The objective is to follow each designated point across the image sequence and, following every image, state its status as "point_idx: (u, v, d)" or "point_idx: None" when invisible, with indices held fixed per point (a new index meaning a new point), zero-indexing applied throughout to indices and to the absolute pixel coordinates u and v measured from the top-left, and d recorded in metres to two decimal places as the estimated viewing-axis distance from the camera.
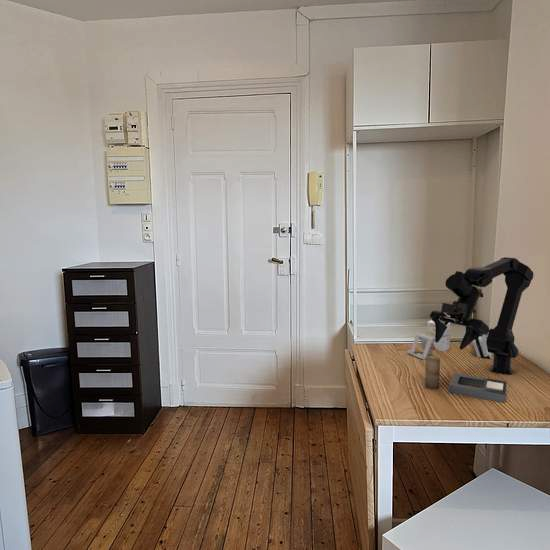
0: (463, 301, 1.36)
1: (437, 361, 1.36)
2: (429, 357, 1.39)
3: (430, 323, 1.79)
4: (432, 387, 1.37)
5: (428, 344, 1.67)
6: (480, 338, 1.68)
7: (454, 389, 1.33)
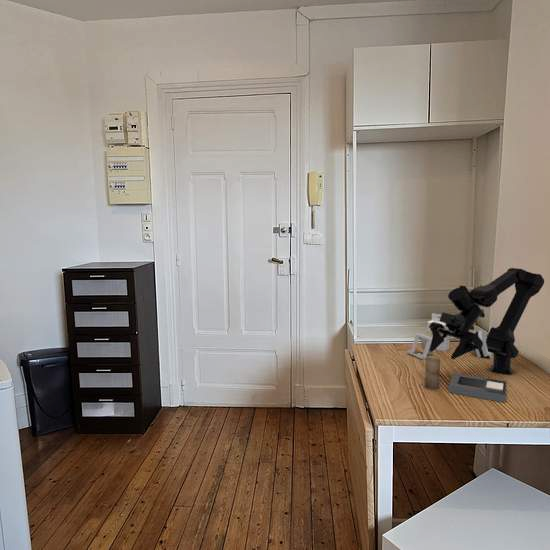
0: (463, 315, 1.41)
1: (437, 361, 1.36)
2: (429, 357, 1.39)
3: (430, 323, 1.79)
4: (432, 387, 1.37)
5: (428, 344, 1.67)
6: (480, 338, 1.68)
7: (454, 389, 1.33)
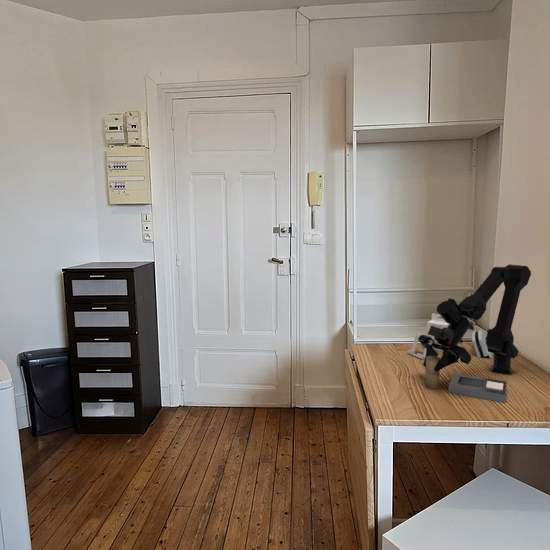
0: (451, 329, 1.39)
1: (437, 361, 1.36)
2: (429, 357, 1.38)
3: (430, 323, 1.79)
4: (432, 387, 1.37)
5: None
6: (480, 338, 1.68)
7: (454, 389, 1.33)
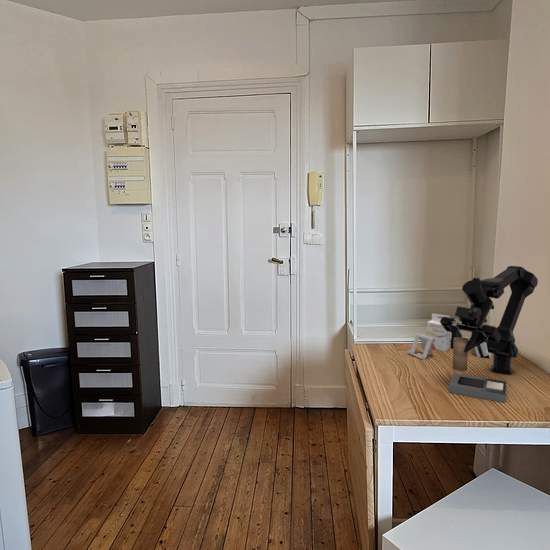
0: None
1: (466, 342, 1.33)
2: (457, 338, 1.35)
3: (430, 323, 1.79)
4: (461, 369, 1.34)
5: (428, 344, 1.67)
6: None
7: (454, 389, 1.33)
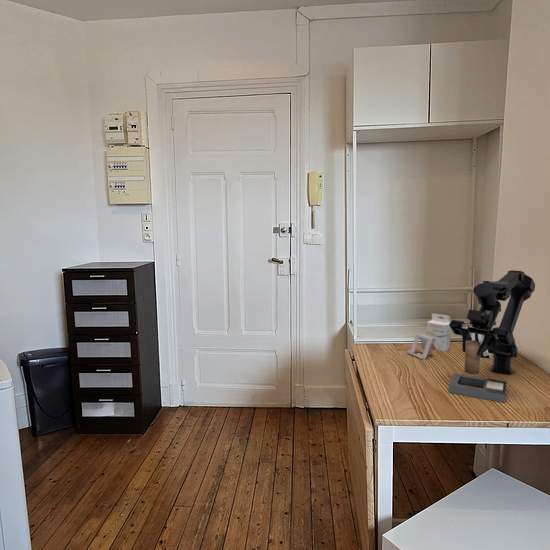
0: None
1: (479, 345, 1.33)
2: (469, 342, 1.35)
3: (430, 323, 1.79)
4: (474, 372, 1.33)
5: (428, 344, 1.67)
6: (480, 338, 1.68)
7: (454, 389, 1.33)
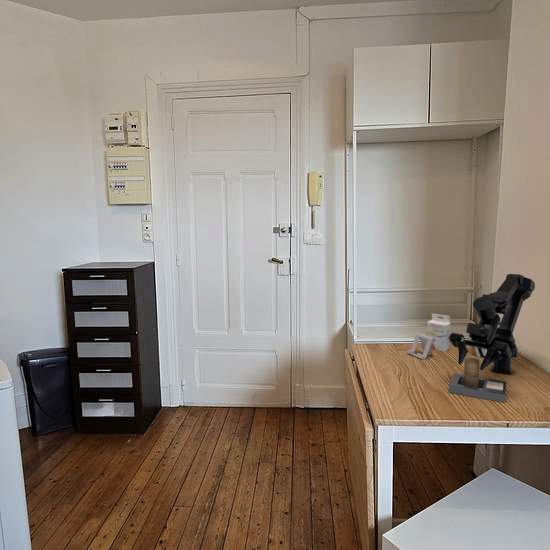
0: None
1: (478, 363, 1.33)
2: (468, 359, 1.35)
3: (430, 323, 1.79)
4: None
5: (428, 344, 1.67)
6: None
7: (454, 389, 1.33)
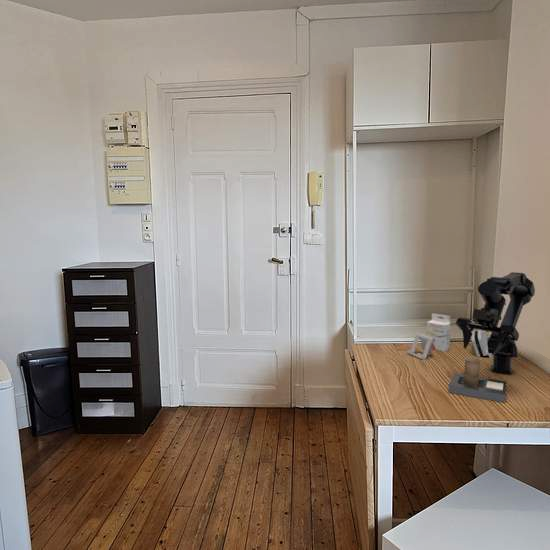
0: (491, 308, 1.39)
1: (478, 363, 1.33)
2: (468, 360, 1.35)
3: (430, 323, 1.79)
4: None
5: (428, 344, 1.67)
6: (479, 337, 1.69)
7: (454, 389, 1.33)
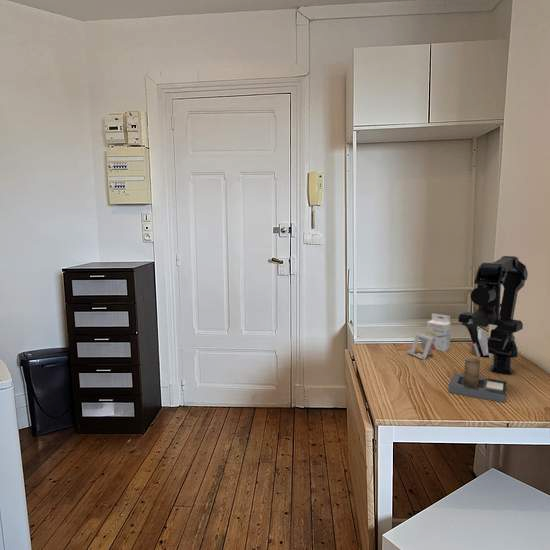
0: (489, 304, 1.35)
1: (478, 363, 1.33)
2: (468, 360, 1.35)
3: (430, 323, 1.79)
4: None
5: (428, 344, 1.67)
6: (479, 337, 1.69)
7: (454, 389, 1.33)
